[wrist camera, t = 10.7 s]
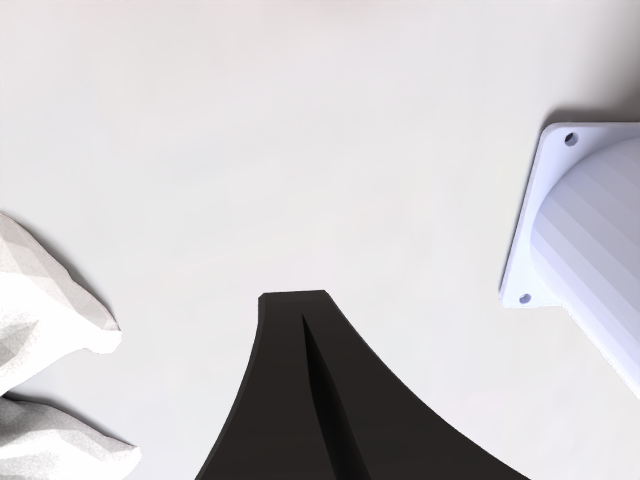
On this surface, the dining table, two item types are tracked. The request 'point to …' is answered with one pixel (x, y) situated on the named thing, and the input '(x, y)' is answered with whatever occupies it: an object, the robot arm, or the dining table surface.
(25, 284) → the cloth
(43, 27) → the dining table surface
